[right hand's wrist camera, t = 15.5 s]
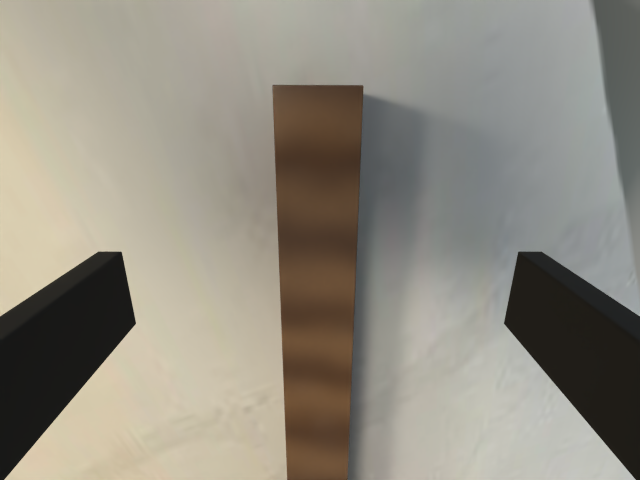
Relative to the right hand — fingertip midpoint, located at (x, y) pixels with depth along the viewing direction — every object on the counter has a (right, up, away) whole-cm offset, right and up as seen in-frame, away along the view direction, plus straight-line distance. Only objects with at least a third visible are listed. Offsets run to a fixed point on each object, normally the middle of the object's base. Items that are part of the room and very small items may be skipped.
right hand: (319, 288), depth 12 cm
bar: (0, -23, +32) cm, 39 cm away
